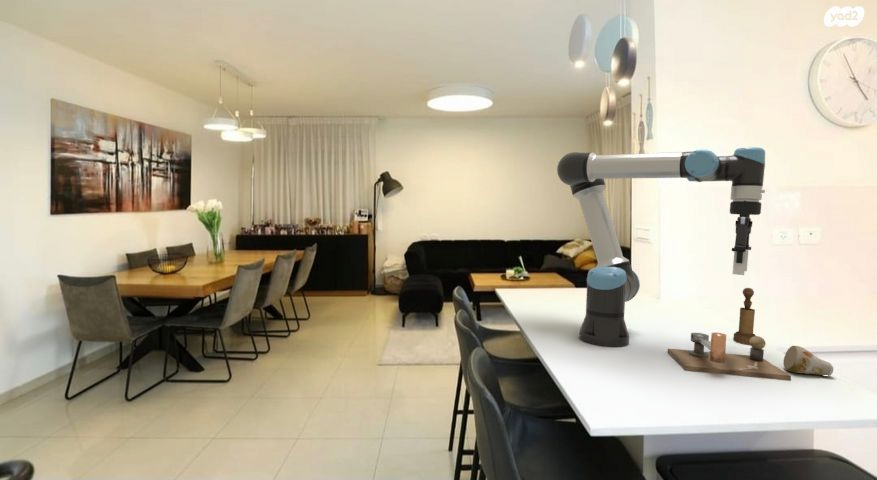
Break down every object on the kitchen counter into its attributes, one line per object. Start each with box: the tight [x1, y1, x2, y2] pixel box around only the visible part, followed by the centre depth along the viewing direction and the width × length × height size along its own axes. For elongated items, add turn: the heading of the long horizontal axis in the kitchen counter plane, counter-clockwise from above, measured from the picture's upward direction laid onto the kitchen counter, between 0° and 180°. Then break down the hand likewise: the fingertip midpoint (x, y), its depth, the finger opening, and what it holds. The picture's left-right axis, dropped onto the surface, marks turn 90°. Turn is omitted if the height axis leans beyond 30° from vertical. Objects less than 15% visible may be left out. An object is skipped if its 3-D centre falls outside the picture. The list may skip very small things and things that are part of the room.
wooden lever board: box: [667, 335, 792, 381], centre depth 119 cm, size 24×16×8 cm, turn 77°
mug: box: [783, 345, 834, 376], centre depth 114 cm, size 8×10×10 cm
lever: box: [690, 332, 727, 363], centre depth 118 cm, size 17×4×7 cm, turn 167°
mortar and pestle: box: [732, 287, 757, 345], centre depth 143 cm, size 7×6×18 cm
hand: (739, 272), depth 129 cm, fingers open, 13 cm apart
